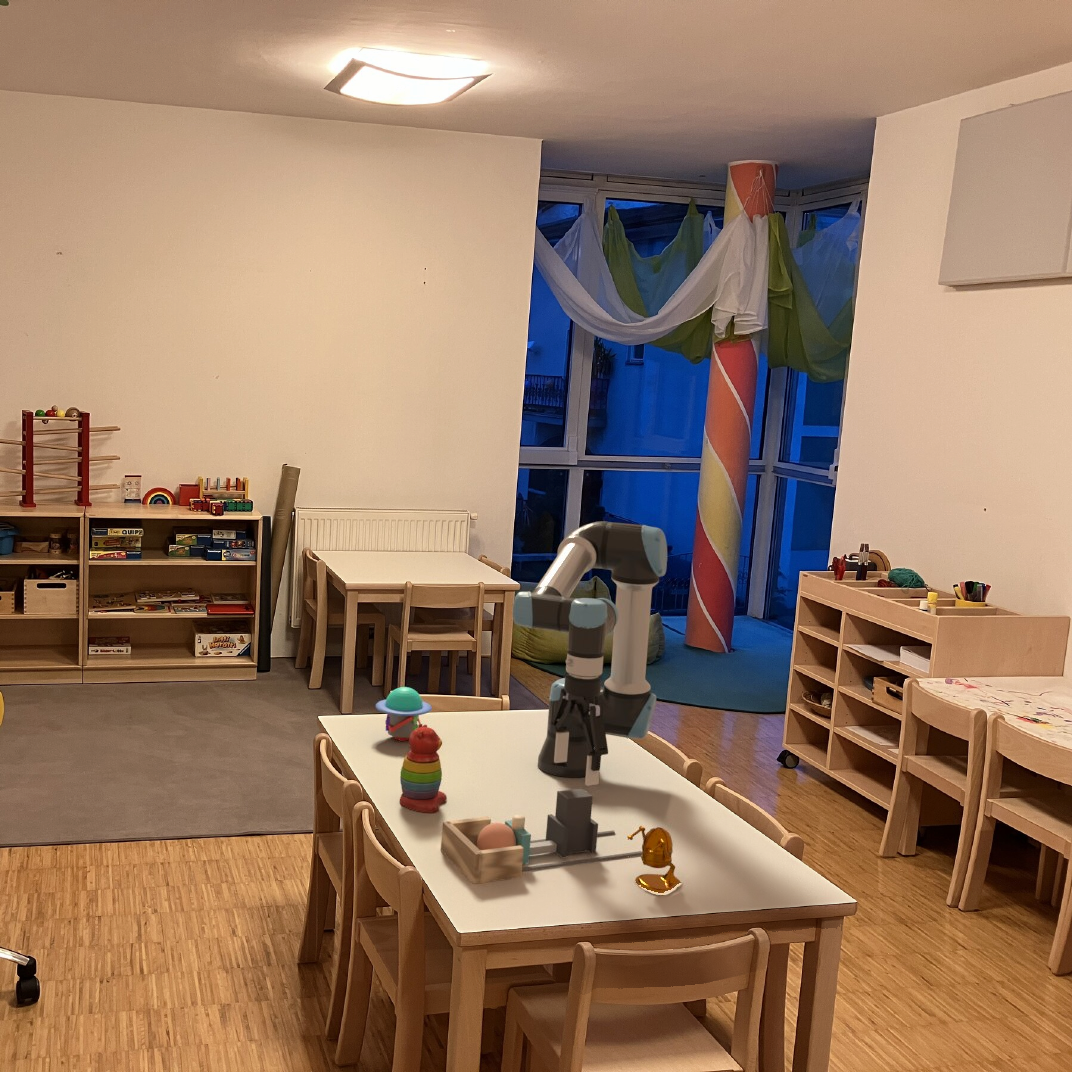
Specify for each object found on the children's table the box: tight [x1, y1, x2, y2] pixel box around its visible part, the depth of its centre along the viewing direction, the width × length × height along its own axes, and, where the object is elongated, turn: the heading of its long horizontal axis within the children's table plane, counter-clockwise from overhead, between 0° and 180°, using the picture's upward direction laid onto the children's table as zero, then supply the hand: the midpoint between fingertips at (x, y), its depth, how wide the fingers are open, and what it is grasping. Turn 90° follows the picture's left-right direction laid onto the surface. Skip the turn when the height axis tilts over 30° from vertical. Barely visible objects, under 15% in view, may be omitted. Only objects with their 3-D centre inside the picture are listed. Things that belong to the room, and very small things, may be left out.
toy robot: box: [375, 686, 433, 742], centre depth 307 cm, size 15×15×14 cm
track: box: [522, 830, 642, 873], centre depth 242 cm, size 29×12×1 cm, turn 117°
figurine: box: [627, 825, 682, 893], centre depth 227 cm, size 8×11×12 cm
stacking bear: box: [399, 724, 448, 814], centre depth 261 cm, size 11×10×18 cm
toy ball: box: [477, 822, 516, 850], centre depth 233 cm, size 8×8×8 cm
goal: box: [440, 816, 524, 885], centre depth 232 cm, size 10×17×6 cm, turn 27°
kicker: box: [504, 788, 599, 865], centre depth 239 cm, size 20×8×12 cm, turn 117°
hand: (575, 773), depth 240 cm, fingers open, 13 cm apart
